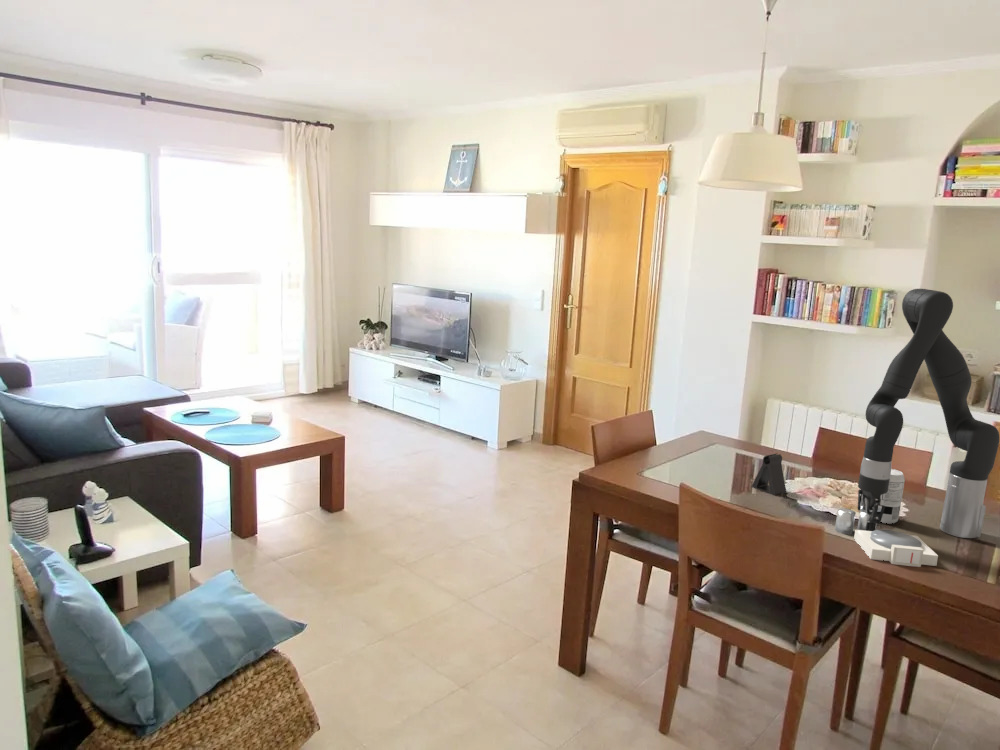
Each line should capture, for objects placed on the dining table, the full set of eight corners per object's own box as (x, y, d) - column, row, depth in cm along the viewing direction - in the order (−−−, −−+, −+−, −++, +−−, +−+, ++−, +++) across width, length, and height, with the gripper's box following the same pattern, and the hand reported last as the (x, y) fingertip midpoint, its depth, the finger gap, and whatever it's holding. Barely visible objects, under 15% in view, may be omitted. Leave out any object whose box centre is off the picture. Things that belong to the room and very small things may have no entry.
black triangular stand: (751, 487, 241) (755, 452, 238) (762, 484, 244) (767, 450, 242) (774, 495, 233) (779, 459, 231) (786, 492, 237) (790, 457, 234)
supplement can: (863, 518, 217) (870, 470, 214) (872, 512, 223) (880, 465, 220) (892, 526, 212) (900, 477, 209) (901, 520, 217) (909, 472, 215)
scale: (915, 545, 199) (917, 529, 198) (940, 569, 184) (943, 552, 184) (853, 539, 201) (856, 523, 200) (873, 562, 186) (876, 545, 186)
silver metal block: (871, 530, 208) (874, 511, 207) (877, 537, 203) (880, 517, 202) (854, 529, 208) (857, 509, 207) (860, 535, 204) (863, 515, 203)
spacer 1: (849, 528, 209) (852, 509, 207) (854, 535, 204) (858, 515, 203) (832, 527, 209) (835, 507, 208) (837, 533, 205) (840, 513, 204)
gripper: (899, 483, 195) (889, 543, 198) (879, 467, 209) (871, 523, 212) (870, 481, 196) (860, 540, 199) (852, 465, 210) (844, 520, 213)
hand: (866, 531), depth 206 cm, fingers closed on silver metal block, 4 cm apart
